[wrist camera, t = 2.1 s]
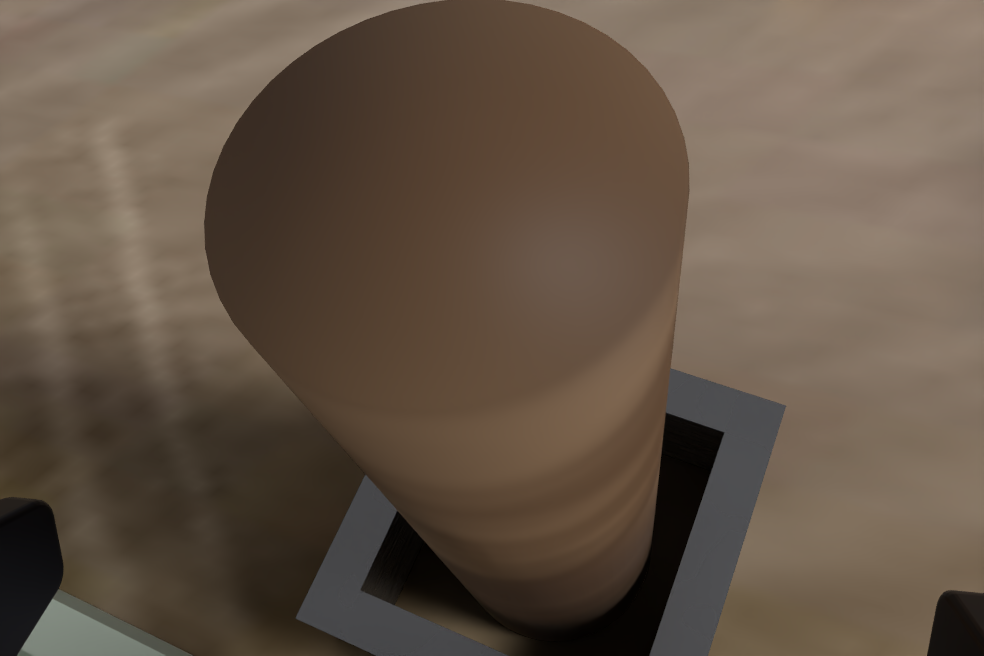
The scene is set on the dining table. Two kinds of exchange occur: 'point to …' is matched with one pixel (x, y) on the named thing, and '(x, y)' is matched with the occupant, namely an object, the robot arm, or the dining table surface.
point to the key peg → (473, 286)
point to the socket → (699, 581)
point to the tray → (89, 633)
